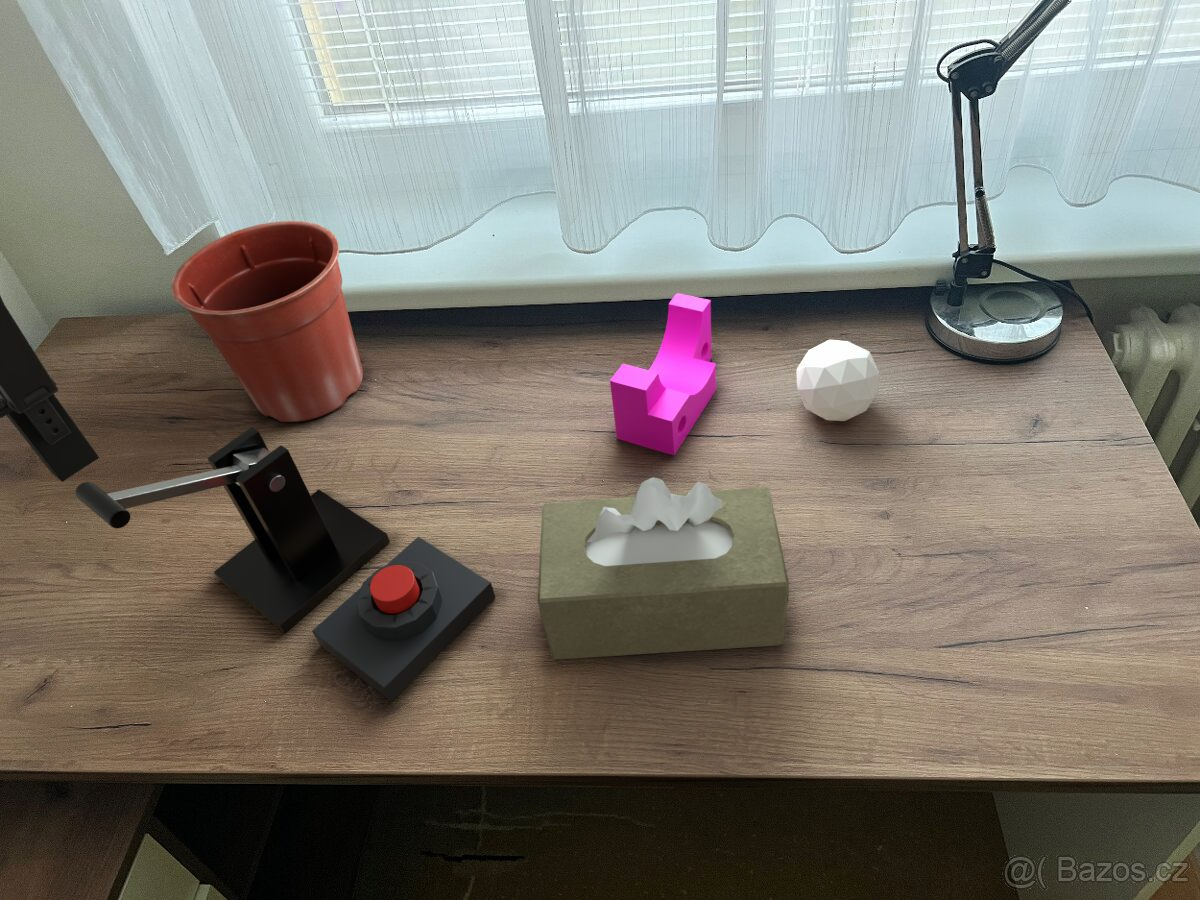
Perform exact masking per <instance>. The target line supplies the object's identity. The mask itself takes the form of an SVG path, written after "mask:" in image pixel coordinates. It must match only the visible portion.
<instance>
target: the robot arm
mask: <svg viewBox="0 0 1200 900" xmlns="http://www.w3.org/2000/svg"><path fill="white" fill-rule="evenodd" d="M3 300H4V299H3V298H2V296H1V295H0V419H3V418H4V417H7V418H8V419H9V421H10V422H11V423H12V425H13V426H14V427H15V428H16V430H17V431H18V432H19V434H20V435H21V436H22V437H23V439H24V440H25V441H26V443H28V445H29V446H30V448H32V450H33V451H34V452H35V454H36V455H37V456H38V458H39V459H40V461H42V463H43V464H44V465H45V467H46V468H47V469H48V470H49V472H50V473H51V474H52V475H53V476H54V477H56V478H57V479H58V480H59V481H60V482H61V483H63V482H65V481H66V480H68V479H70V478H71V477H73V476H74V475H76V474H77V473H78V472H80V471H82V470H83V469H84V468H86V467H88V466H89V465H91V464H92V463H94V462H95V461H97V460H98V459H100V457H99V455H98V454H97V452H96V451H95V449H94V448H93V447H92V445H91V444H90V442H89V441H88V439H87V438H86V436H85V435H84V434H83V432H82V431H81V430H80V429H79V427H78V426H77V424H76V423H75V421H74V420H73V418H71V416H70V415H69V412H68V411H67V410H66V409H65V408H64V406H63V405H62V403H61V402H60V400H59V399H58V398H57V396H56V395H55V394H56V393H57V392H59V388H58V386H57V383H56V382H55V380H54V379H53V378H51V376H50V374H49V373H48V371H47V370H46V368H45V366H44V364H43V363H42V361H41V360H40V359H39V357H38V355H37V354H36V352H35V350H34V349H33V348H32V346H31V344H30V343H29V340H28V339H27V338H26V336H25V335H24V333H23V331H22V330H21V328H20V327H19V325H18V323H17V322H16V320H15V318H14V317H13V316H12V314H11V312H10V311H9V309H8V307H7V306H6V305H5V303H4V301H3Z"/></svg>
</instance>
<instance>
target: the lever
mask: <svg viewBox="0 0 1200 900" xmlns="http://www.w3.org/2000/svg"><path fill="white" fill-rule="evenodd" d="M268 450H269V449H268ZM268 450H267V449H265V448H261V449H256V450H252V451H247V452H242V453H237V454H233V466H230V467H225V468H221V469H216V470H214V469H213V470H208V471H203V472H199V473H195V474H190V475H186V476H181V477H176V478H171V479H167V480H162V481H158V482H154V483H149V484H145V485H141V486H136V487H131V488H128V489H127V488H126V489H122V490H118V491H114V492H113V491H112V492H109V493H106V492H105V491H104V490H103V489H102V488H100V487H99V486H98V485H96V483H94V482H92V481H83V482H81V483H79V485H78V486H77V487H76V488H75V492H74V494H75V497H76V498H77V499H78V500H80V502H81V503H83V504H84V505H85V506H86V507H88V508H89V509H90V510H91V511H92V512H93V513H95V514H96V515H97V516H98V517H99V518H101V519H102V520H103V521H104V523H107V524H108V525H109V526H110V527H111V528H113V529H122V528H124V527H126V526H127V525H128V524H129V522H130V521H131V513H130V512H129V509H131V508H132V509H133V508H135V507H136V508H137V507H139V506H143V505H148V504H152V503H156V502H161V501H165V500H169V499H172V498H173V499H174V498H178V497H181V496H186V495H190V494H195V493H199V492H202V491H206V490H212V489H215V488H219V487H224V485H228V484H232V483H236V484H237V485H239V483H238V481H237V479H236V477H238V476H239V475H241V474H242V473H243V472H245V471H246V470H247V469H249V468H250V467H252V466H253V465H254V464H256V463H257V462H258V461H260V460H261V459H262V458H264V457H265V456H267V455H268V454H269V453H271V452H272V451H270V450H269V451H268ZM239 486H240V485H239Z"/></svg>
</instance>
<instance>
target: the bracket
mask: <svg viewBox="0 0 1200 900" xmlns="http://www.w3.org/2000/svg"><path fill="white" fill-rule="evenodd" d="M261 448H265V449H267V450H268V451H270V450H269V448H268V446H267V444H266V442H265V440H264V438H263V436H262V434H261V432H260V431H259V430H258V429H256V428H255V427H253V426H251V427H249V428H247V429H246V430H245V431H244V432H242V433H241V434H240V435H238V436H236V437H235V438H234V439H232V440H231V441H230V442H228V443H227V444H225V445H224V446H222V447H221V448H220V449H218V450H217V451H215V452H214V453H212V454H211V455H210V456H208V457H207V460H208V461H207V462H209V464H210V466H211V467H212V469H213V470H216V469H221V468H225V467H230V466H233V454H237V453H242V452H247V451H252V450H256V449H261ZM270 452H271V453H269V454H268V455H267V456H265V457H264V458H262V459H261V460H260V461H258V462H257V463H256V464H254V465H253V466H252V467H250V468H249V469H247V470H246V471H245V472H243V473H242V474H241V475H239V476H238V477H236V479H237V481H238V483H239V485H240V486H239V485H237V484H236V483H232V484H228V485H224V486H223V488H224V490H225V491H226V493H227V495H228V496H229V498H230V500H231V501H232V503H233V505H234V507H235V508H236V510H237V512H238V514H239V515H240V517H241V518H242V520H243V522H244V524H245V525H246V527H247V529H248V530H249V532H250V534H251V536H252V537H253V540H252V541H251V542H250V543H249V544H247V545H246V546H244V547H243V548H242V549H241V550H240V551H238V552H237V553H235V555H233V556H232V557H231V558H229V559H228V560H227V561H226V562H224V563H223V564H222V565H221V566H220V567H218V568H217V569H216V570H214V571H213V573H214V576H215V577H216V578H217V579H218V581H219V582H220V583H222V584H223V585H224V586H225V587H227V588H228V589H229V590H230V591H232V593H234V594H235V595H237V596H238V597H239V598H240V599H241V600H243V601H244V602H246V604H248V605H249V606H250V607H251V608H253V609H254V610H255V611H256V612H258V613H259V614H260V615H261V616H263V617H264V618H265V619H266V620H267V621H268V622H270V623H271V624H273V625H274V626H275V627H276V628H277V629H279V630H280V631H281V632H282V633H284V634H286V633H287V632H289V631H290V630H291V629H292V628H294V626H296V625H297V624H298V623H300V621H302V619H304V618H305V617H306V616H307V615H308V614H310V612H312V611H313V610H314V609H315V608H316V607H318V605H320V604H321V603H323V601H324V600H325V599H327V598H328V597H329V596H330V595H331V594H332V593H334V591H336V590H337V589H338V588H339V587H341V585H342V584H344V583H345V582H346V581H347V580H349V579H350V578H351V577H352V576H353V575H354V574H356V572H358V571H359V570H360V569H361V568H362V567H363V566H364V565H365V564H367V563H368V562H369V561H370V560H371V559H373V558H374V557H375V556H376V555H377V554H379V553H380V552H381V551H382V550H383V549H385V547H386V546H387V545H389V544H390V543H391V540H390V537H389V535H388V533H387V532H385V531H384V530H382V529H381V528H379V527H377V526H376V525H374V524H373V523H371V522H370V521H368V520H367V519H365V518H364V517H362V516H361V515H359V514H358V513H356V512H354V511H353V510H351V508H348V507H346V506H345V505H344V504H342V503H341V502H339V501H337V500H336V499H335V498H334V497H333V498H332V497H331V496H330V495H328V494H327V493H326V492H324V491H322V490H320V489H317V490H316V491H315V492H313V493H312V494H310V491H309V489H308V487H307V485H306V483H305V481H304V479H303V477H302V475H301V473H300V471H299V469H298V467H297V465H296V463H295V460H294V459H293V457H292V455H291V453H290V451H289V449H288V448H287V447H285V446H283V445H279V446H277V447H276V448H275V449H273V450H272V451H270Z"/></svg>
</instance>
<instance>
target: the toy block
mask: <svg viewBox="0 0 1200 900" xmlns="http://www.w3.org/2000/svg"><path fill="white" fill-rule="evenodd" d="M711 302H712V300H711V299H706V298H702V297H701V298H700V297H696V296H692V295H687V294H683V293H677V292H676V294H675V295H674V296H673V297H672V299H671V300H670V301H669V303H668V312H667V321H666V326H665V332H664V336H663V339H662V342H661V345H660V348H659V350H658V353H657V355H656V356H655V359H654V360H653V362H652V364H651V366H650V367H649V369H644V368H640V367H637V366H634V365H629V364H626V363H622V364H621V365H620V367H619V368H618V370H617V371H616V372H615V373H614V375H612V377H611V378H610V380H609V386H610V394H611V401H612V408H613V409H612V410H613V418H614V426H615V427H614V428H615V433H616V434H615V435H616V439H617V440H619V441H623V442H627V443H631V444H634V445H637V446H640V447H644V448H647V449H651V450H654V451H657V452H661V453H664V454H667V455H671V456H676V454H677V452H678V450H679V449H680V447H681V445H682V444H683V443H684V442H685V439H686V438H687V436H689V433H690V432H691V430H692V429H693V427H694V426H695V424H696V423H697V421H698V419H699V418H700V416H701V414H702V413H703V411H704V410H705V408H706V406H707V405H708V403H709V402H710V400H711V399H712V397H713V396H714V394H715V392H716V391H717V364H716V363H715V362H711V360H712V306H711V305H712V304H711Z"/></svg>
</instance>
